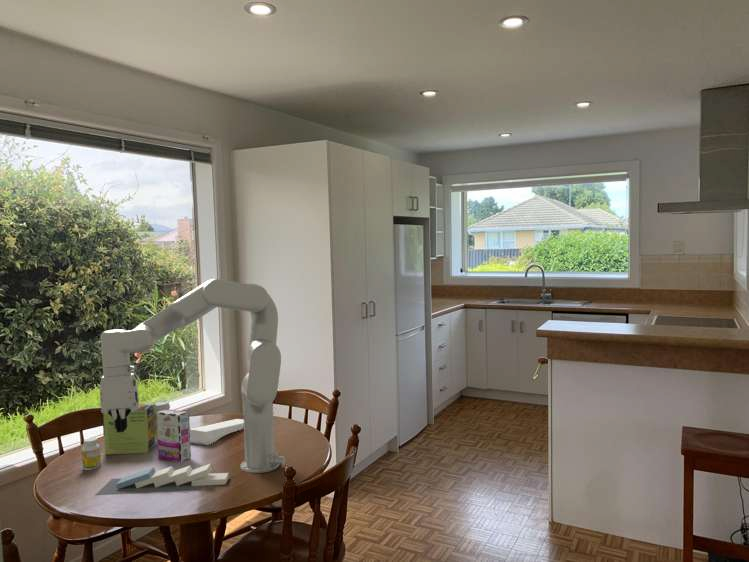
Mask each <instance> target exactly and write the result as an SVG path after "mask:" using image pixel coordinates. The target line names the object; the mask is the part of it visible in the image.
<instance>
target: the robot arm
mask: <svg viewBox="0 0 749 562" xmlns="http://www.w3.org/2000/svg"><path fill="white" fill-rule="evenodd" d="M216 308H222V309H226V310H235V311H242V312H249V314H250V316H251V323H250V324H251V326H250V333H249V334H250V335H249V342H248V348H247V352H246V353H247V359H248V361H249V369H248V372H247V373H246V375H245V376H244V377H243V378H242V382H241V396H242V397H241V398H242V411H243V415H242V416H243V420H244V429H243V439H244V441H243V443H244V461H242V462H241V463H240V469H241V471H243V472H246V473H251V474H252V473H253V474H257V473H258V474H264V473H269V472H272V471H274V470H277V468H279V466H280V465H281V466H284V465H285V463H286V459H285V456H282V455H281V456H280V455H278V451H277V450H275V432H274V431H275V430H274V424H275V423H274V404H273V403H274V402H273V401H274V400H275V399H276V396H277V394H278V388H279V380H280V374H281V366H282V365H281V364H282V354H281V350H280V349H279V348H280V347H279V346H277V338H278V327H279V315H278V308H277V306H276V303H275V301H274V299H273V298H272V297H271V295H270V294H269V293H268V291H267V290H266V289H265V287H263V286H261V285H259V284H256V283H243V282H236V281H230V280H226V279H221V278H219V277H215V278H214V277H213V278H211V279H208V280H207V281H205V282H203V283H202V284H200V285H199V286H197V287H196V288H194V289H192V290H191V291H189V292H188V293H186V294H185V295H183V296H181V297H180V298H178V299H176V300H175V301H174V302H172V303H170V304H169V305H168V306H166V307H165V308H164V309H162V310H159V312H158V313H155V314H154V315H152V316H151V317H149V318H148V319H146V320H144V321H143V322H141V323H140V324H139V325H137V326H135V328H132V329H131V330H126V329H123V328H121V329H120V328H119V329H109V330H104V331H102V332H101V334H100V348H101V360H102V361H101V362H102V373H103V375H102V376H101V379H100V385H99V404H100V408H101V409H100V413H102V414H103V413H106V414H109V415H110V416H112V417H113V419H114V420H115V429H117V433H118V432H124V431H125V430H126V428H127V416H128V415H129V414H130V413H131V412H134V411H137V410H138V409H139V407H138V403H140V396H139V395H140V394H139V388H138V383H137V380H136V379H137V378H136V376H135V373H133V372H134V371H136V366H135V365H132V363H131V357H130V356H131V355H130V354H144V353H148V352H150V351H151V350H152V349H153V348H154V346H155V344H156V343H157V342H158V341H160V340H161V339H163V338H164V337H166V336H167V335H169V334H171V333H172V332H174V331H177V330H178V329H181V328H185V327H187V326H189V325H192V324H194V323H195V322H197V321H198V320H199V319H201V318H203V317H205V315H208V314H209V313H210V312H211V311H213V310H214V309H216ZM119 409H121V415H120V411H119Z"/></svg>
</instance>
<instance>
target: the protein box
mask: <svg viewBox="0 0 749 562" xmlns="http://www.w3.org/2000/svg"><path fill="white" fill-rule="evenodd" d="M138 407H139V409H138V410H137V411H134V412H131V413H130V414H129V415H128V416H127V428H126V430H125V431H124V432H118V433H117V429H115V420H114V419H113V417H112V416H110V415H109V414H106V413H102V414H103V433H104V435H103V437H104V454H105V455H122V454H123V455H124V454H145V453H149V452H150V451H151V450H152V449H153V448H154V447H155V446H156V445H158V440H157V428H156V406H155V403H151V402H145V403H142V402H141V403H140V402H139V403H138ZM119 411H120V415H121V409H119ZM143 452H144V453H143Z"/></svg>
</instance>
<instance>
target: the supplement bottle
mask: <svg viewBox="0 0 749 562" xmlns="http://www.w3.org/2000/svg"><path fill="white" fill-rule="evenodd" d="M81 456H82V457H81V459H82V469H83V470H84V471H87V470H89V471H91V470H95V469H98V468H99V467H101V446H100V444H98V438H97V437H89V438H85V439H84V440H83V446H82V448H81Z"/></svg>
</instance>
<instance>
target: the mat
mask: <svg viewBox="0 0 749 562" xmlns="http://www.w3.org/2000/svg"><path fill="white" fill-rule="evenodd" d="M122 478H123V477H122ZM122 478H111V479H110V480H109V481H108V482H107V483H106V484H105V485H104V486H103V487H101V489H99V491H97V493H95V495H94V496H103V495H104V496H105V495H108V496H109V495H128V494H146V493H147V494H150V493H151V494H152V493H172V492H194V491H200V490H201V488H202V487H203V485H201V486H192V481H189V482H187V483H184V484H181V485H178V486H177V485H176V482H175V481H173V482H170V483H167V484H164V485H161V486H158V487H156V488H155V485H154V483H151V484H148V485H145V486H142V487H139V488H136V485H135V484H132V485H129V486H126V487H123V488H120V489H118V488H117V486H116V484H117V483H118V482H119V481H120V480H121V479H122Z"/></svg>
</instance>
